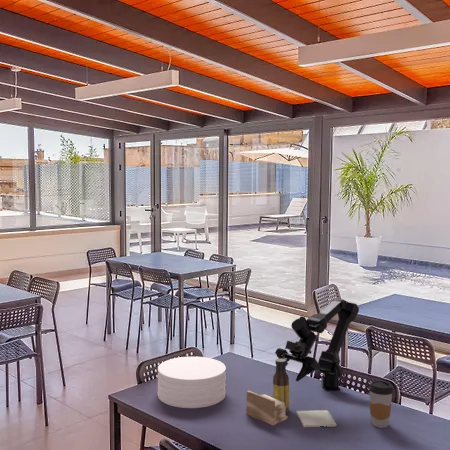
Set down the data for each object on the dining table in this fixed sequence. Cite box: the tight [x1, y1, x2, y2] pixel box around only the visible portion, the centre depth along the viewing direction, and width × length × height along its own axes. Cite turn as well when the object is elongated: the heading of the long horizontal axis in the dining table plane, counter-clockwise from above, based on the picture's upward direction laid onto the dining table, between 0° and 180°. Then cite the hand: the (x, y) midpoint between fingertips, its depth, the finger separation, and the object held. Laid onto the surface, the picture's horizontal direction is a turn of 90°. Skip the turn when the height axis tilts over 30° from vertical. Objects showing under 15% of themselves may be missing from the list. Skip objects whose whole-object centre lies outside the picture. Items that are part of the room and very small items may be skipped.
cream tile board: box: [296, 409, 337, 428], centre depth 196 cm, size 12×12×1 cm
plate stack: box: [157, 356, 227, 409], centre depth 218 cm, size 28×28×12 cm
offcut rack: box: [245, 390, 288, 426], centre depth 198 cm, size 9×13×9 cm
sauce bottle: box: [272, 358, 290, 413], centre depth 203 cm, size 6×6×20 cm
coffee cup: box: [368, 380, 394, 429], centre depth 192 cm, size 8×8×15 cm
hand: (287, 377), depth 205 cm, fingers open, 9 cm apart
